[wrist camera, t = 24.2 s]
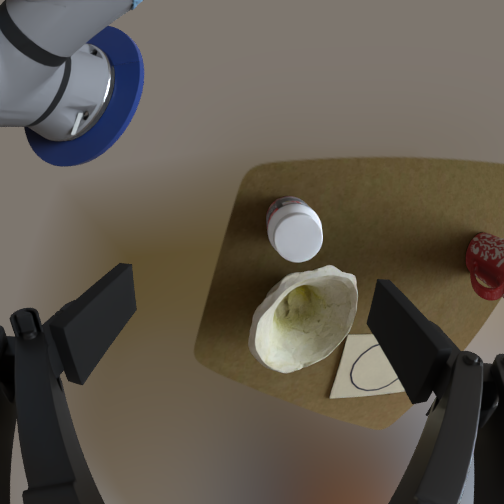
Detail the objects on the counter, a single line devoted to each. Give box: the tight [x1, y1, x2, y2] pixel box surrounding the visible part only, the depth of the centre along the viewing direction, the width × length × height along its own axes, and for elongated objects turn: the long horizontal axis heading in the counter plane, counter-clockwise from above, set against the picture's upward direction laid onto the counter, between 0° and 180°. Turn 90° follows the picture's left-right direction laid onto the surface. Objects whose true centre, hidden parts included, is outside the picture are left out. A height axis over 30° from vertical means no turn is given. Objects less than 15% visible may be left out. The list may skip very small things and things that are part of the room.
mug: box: [466, 233, 504, 300], centre depth 31 cm, size 13×9×14 cm
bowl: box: [248, 265, 358, 373], centre depth 35 cm, size 15×14×10 cm
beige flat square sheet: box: [329, 334, 405, 398], centre depth 43 cm, size 14×16×1 cm
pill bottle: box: [266, 196, 323, 262], centre depth 32 cm, size 6×6×10 cm
